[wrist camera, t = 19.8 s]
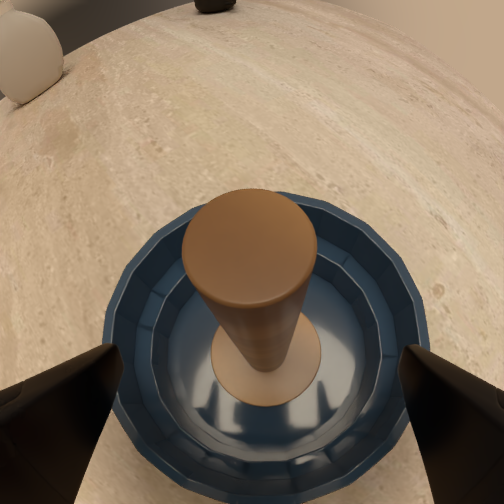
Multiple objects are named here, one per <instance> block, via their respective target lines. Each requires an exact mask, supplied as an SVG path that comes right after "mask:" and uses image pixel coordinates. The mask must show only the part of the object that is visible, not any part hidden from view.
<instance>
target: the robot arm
mask: <svg viewBox="0 0 504 504" xmlns="http://www.w3.org/2000/svg"><path fill="white" fill-rule="evenodd" d="M123 372H124V363H123V360H122V356H121V353H120V350H119V347H118V345H116V344H112V343H104V344H102V345H100V346H98V347H96V348H93V349H91V350H89V351H87V352H85V353H83V354H81V355H79V356H76V357H74V358H72V359H70V360H68V361H66V362H63V363H61V364H59V365H57V366H55V367H53V368H51V369H48V370H46V371H44V372H42V373H40V374H37V375H35V376H33V377H31V378H29V379H26V380H25V381H22V382H20V383H17V384H15V385H13V386H11V387H8V388H6V389H3V390H1V391H0V504H74V502H75V499H76V496H77V494H78V491H79V488H80V485H81V483H82V480H83V477H84V475H85V472H86V469H87V467H88V464H89V462H90V459H91V457H92V454H93V452H94V449H95V447H96V444H97V442H98V439H99V437H100V435H101V432H102V430H103V427H104V425H105V423H106V420H107V418H108V416H109V413H110V411H111V409H112V406H113V403H114V400H115V397H116V394H117V390H118V387H119V384H120V381H121V378H122V375H123ZM398 376H399V380H400V384H401V388H402V392H403V396H404V401H405V405H406V409H407V413H408V416H409V419H410V422H411V425H412V428H413V431H414V434H415V437H416V440H417V443H418V446H419V450H420V453H421V456H422V460H423V463H424V466H425V470H426V473H427V477H428V481H429V484H430V488H431V492H432V496H433V500H434V504H504V391H502V390H501V389H499V388H496V387H495V386H493V385H491V384H489V383H488V382H486V381H484V380H482V379H480V378H478V377H476V376H475V375H473V374H471V373H469V372H467V371H465V370H463V369H462V368H460V367H458V366H456V365H454V364H452V363H450V362H449V361H447V360H445V359H443V358H441V357H439V356H437V355H436V354H434V353H432V352H430V351H428V350H426V349H425V348H423V347H421V346H419V345H417V344H412V345H406V346H404V348H403V350H402V354H401V357H400V361H399V364H398Z"/></svg>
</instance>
